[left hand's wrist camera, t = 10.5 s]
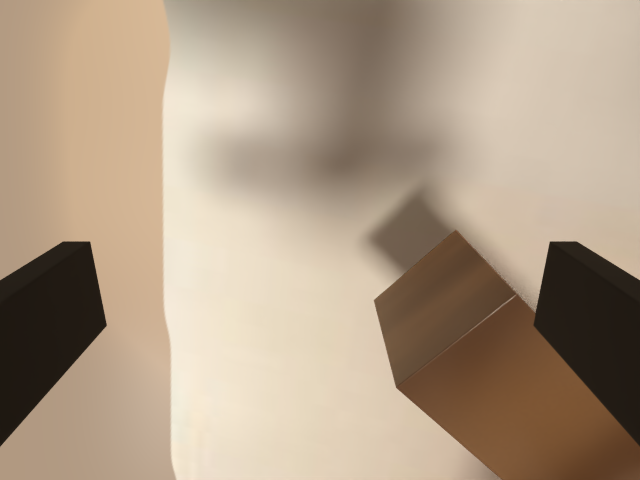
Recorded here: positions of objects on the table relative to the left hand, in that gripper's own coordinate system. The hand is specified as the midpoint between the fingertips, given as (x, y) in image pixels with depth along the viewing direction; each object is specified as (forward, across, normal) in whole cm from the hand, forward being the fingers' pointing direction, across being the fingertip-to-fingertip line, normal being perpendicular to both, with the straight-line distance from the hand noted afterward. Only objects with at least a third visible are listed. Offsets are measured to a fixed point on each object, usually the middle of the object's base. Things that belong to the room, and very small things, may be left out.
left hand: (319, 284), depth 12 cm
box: (+14, +14, -14) cm, 25 cm away
